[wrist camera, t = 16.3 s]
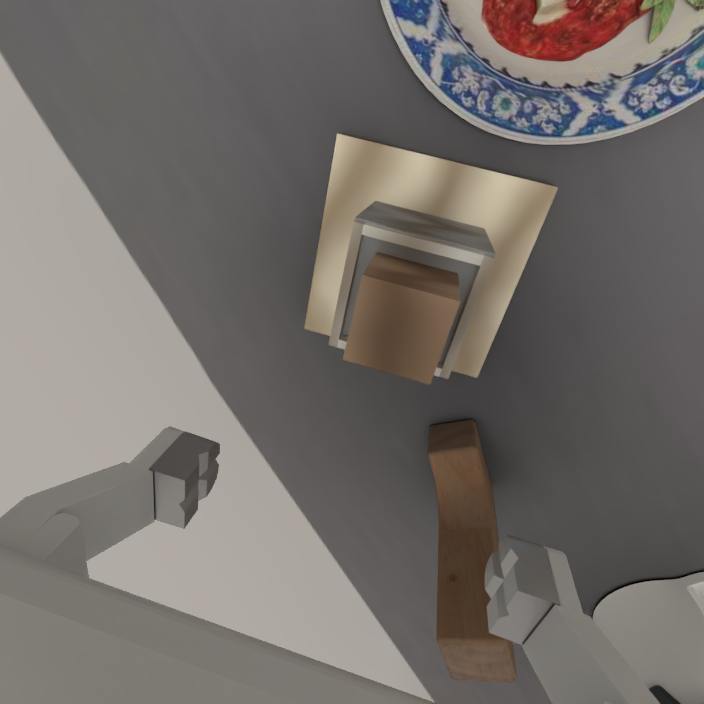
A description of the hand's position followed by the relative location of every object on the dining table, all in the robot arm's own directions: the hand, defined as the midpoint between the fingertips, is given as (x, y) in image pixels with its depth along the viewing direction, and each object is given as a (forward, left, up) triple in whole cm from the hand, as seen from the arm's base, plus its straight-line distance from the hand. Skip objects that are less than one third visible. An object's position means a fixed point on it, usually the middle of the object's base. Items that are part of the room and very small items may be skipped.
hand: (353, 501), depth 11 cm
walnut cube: (0, 0, -17) cm, 17 cm away
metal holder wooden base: (0, 0, -26) cm, 26 cm away
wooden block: (-10, +18, -26) cm, 33 cm away
